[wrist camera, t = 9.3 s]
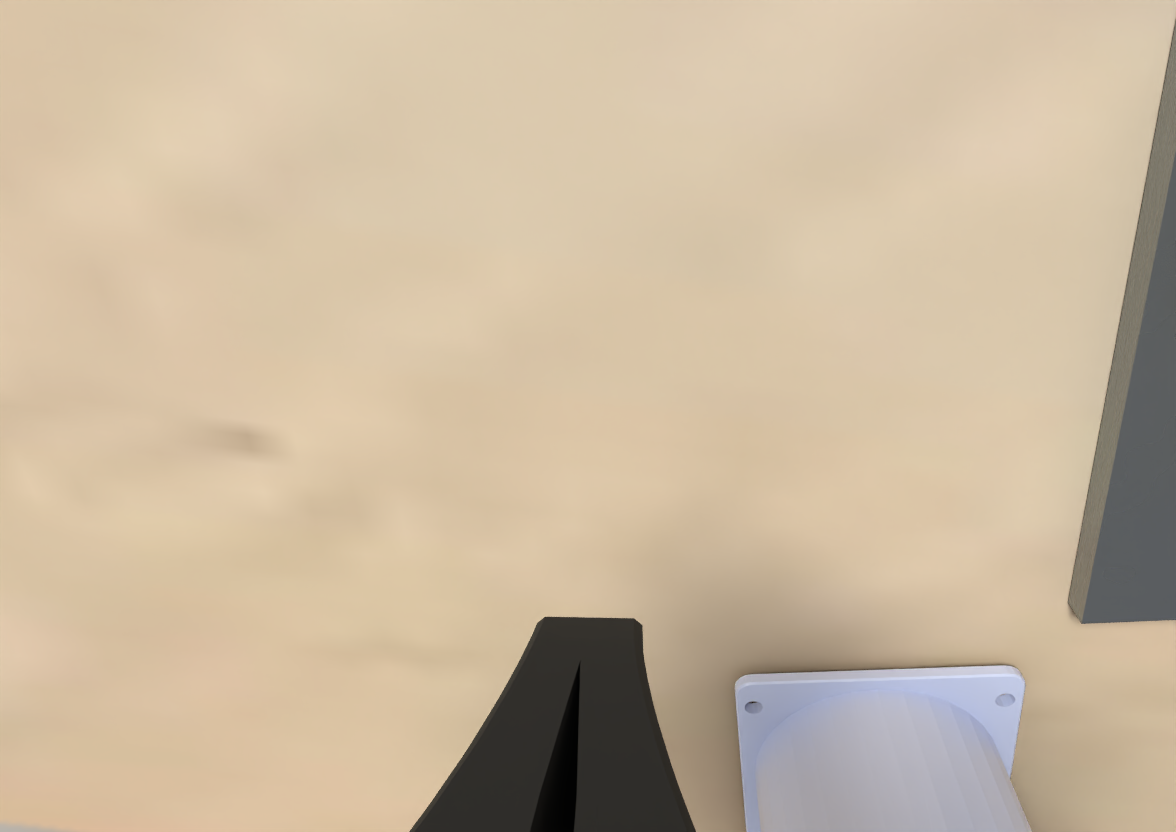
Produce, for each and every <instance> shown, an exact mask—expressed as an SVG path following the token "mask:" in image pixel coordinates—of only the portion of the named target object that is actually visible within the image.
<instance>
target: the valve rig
mask: <svg viewBox="0 0 1176 832" xmlns="http://www.w3.org/2000/svg"><path fill="white" fill-rule="evenodd" d="M1068 603H1069V605H1070V606H1071V608H1072V610H1073V611H1074V613H1075V614H1076V616H1077V617H1078V619H1079V621H1080V622H1081V624H1086V623H1110V622H1134V621H1158V620H1176V24H1175V29H1174V34H1173V40H1172V45H1171V51H1170V56H1169V61H1168V67H1167V72H1166V78H1165V83H1164V88H1163V94H1162V99H1161V104H1160V110H1159V115H1158V121H1157V126H1156V131H1155V137H1154V142H1153V148H1152V153H1151V158H1150V164H1149V169H1148V174H1147V180H1146V185H1145V191H1144V196H1143V201H1142V207H1141V212H1140V218H1139V223H1138V228H1137V234H1136V239H1135V244H1134V250H1133V255H1132V261H1131V266H1130V271H1129V277H1128V282H1127V288H1126V293H1125V298H1124V304H1123V309H1122V314H1121V320H1120V325H1119V331H1118V336H1117V341H1116V347H1115V352H1114V358H1113V363H1112V368H1111V374H1110V379H1109V384H1108V390H1107V395H1106V401H1105V406H1104V411H1103V417H1102V422H1101V428H1100V433H1099V438H1098V444H1097V449H1096V454H1095V460H1094V465H1093V471H1092V476H1091V481H1090V487H1089V492H1088V498H1087V503H1086V508H1085V514H1084V519H1083V524H1082V530H1081V535H1080V541H1079V546H1078V551H1077V557H1076V562H1075V568H1074V573H1073V578H1072V584H1071V589H1070V594H1069V600H1068Z"/></svg>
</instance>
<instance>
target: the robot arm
mask: <svg viewBox="0 0 1176 832" xmlns="http://www.w3.org/2000/svg"><path fill="white" fill-rule="evenodd" d="M1024 692H1025V680H1024V678H1023V676H1022V674H1021V672H1020V671H1019V670H1018V669H1017V668H1015V667H1012V666H1006V665H998V666H970V667H941V668H913V669H885V670H856V671H828V672H799V673H771V674H749V675H744V676H742V677H740V678H739V679H738V680H737V681H736V683H735V698H736V710H737V723H738V735H739V748H740V760H741V772H742V785H743V797H744V810H745V822H746V832H1032V830H1031V828H1030V826H1029V823H1028V821H1027V818H1026V816H1025V814H1024V811H1023V809H1022V807H1021V804H1020V802H1019V800H1018V797H1017V795H1016V792H1015V790H1014V788H1013V785H1012V783H1011V781H1010V778H1011V772H1012V766H1013V760H1014V753H1015V747H1016V741H1017V735H1018V729H1019V723H1020V717H1021V710H1022V704H1023V698H1024ZM1002 694H1005V695H1002ZM1000 695H1001V696H1000ZM752 701H755V702H756V703H748V702H752ZM409 832H696V831H695V828H694V826H693V823H692V820H691V818H690V815H689V812H688V810H687V807H686V805H685V802H684V799H683V797H682V794H681V791H680V789H679V786H678V783H677V780H676V777H675V774H674V771H673V768H672V766H671V763H670V759H669V756H668V753H667V750H666V746H665V743H664V740H663V737H662V733H661V730H660V727H659V724H658V720H657V716H656V713H655V709H654V705H653V701H652V697H651V692H650V688H649V683H648V679H647V674H646V668H645V662H644V655H643V632H642V625H641V624H640V623H639V622H638V621H636V620H635V619H631V618H579V617H544V618H543V619H542V620H541V621H539V622H538V623H537V625H536V628H535V630H534V632H533V634H532V637H531V639H530V641H529V643H528V645H527V647H526V649H525V651H524V653H523V655H522V657H521V659H520V661H519V663H518V665H517V667H516V668H515V670H514V672H513V674H512V676H511V678H510V679H509V681H508V683H507V685H506V687H505V688H504V690H503V692H502V694H501V695H500V697H499V699H498V701H497V702H496V704H495V706H494V707H493V709H492V710H491V712H490V714H489V715H488V717H487V719H486V720H485V722H484V723H483V725H482V727H481V728H480V730H479V732H478V733H477V735H476V737H475V738H474V740H473V741H472V743H471V745H470V746H469V748H468V749H467V751H466V752H465V754H464V755H463V757H462V758H461V760H460V761H459V763H458V764H457V766H456V767H455V768H454V770H453V771H452V773H451V774H450V776H449V777H448V779H447V780H446V781H445V783H444V784H443V786H442V787H441V789H440V790H439V792H438V793H437V794H436V796H435V797H434V799H433V800H432V802H431V803H430V805H429V806H428V807H427V809H426V810H425V811H424V813H423V814H422V815H421V817H420V818H419V819H418V821H417V822H416V823H415V825H414V826H413V827H412V829H411V830H410V831H409Z"/></svg>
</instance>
